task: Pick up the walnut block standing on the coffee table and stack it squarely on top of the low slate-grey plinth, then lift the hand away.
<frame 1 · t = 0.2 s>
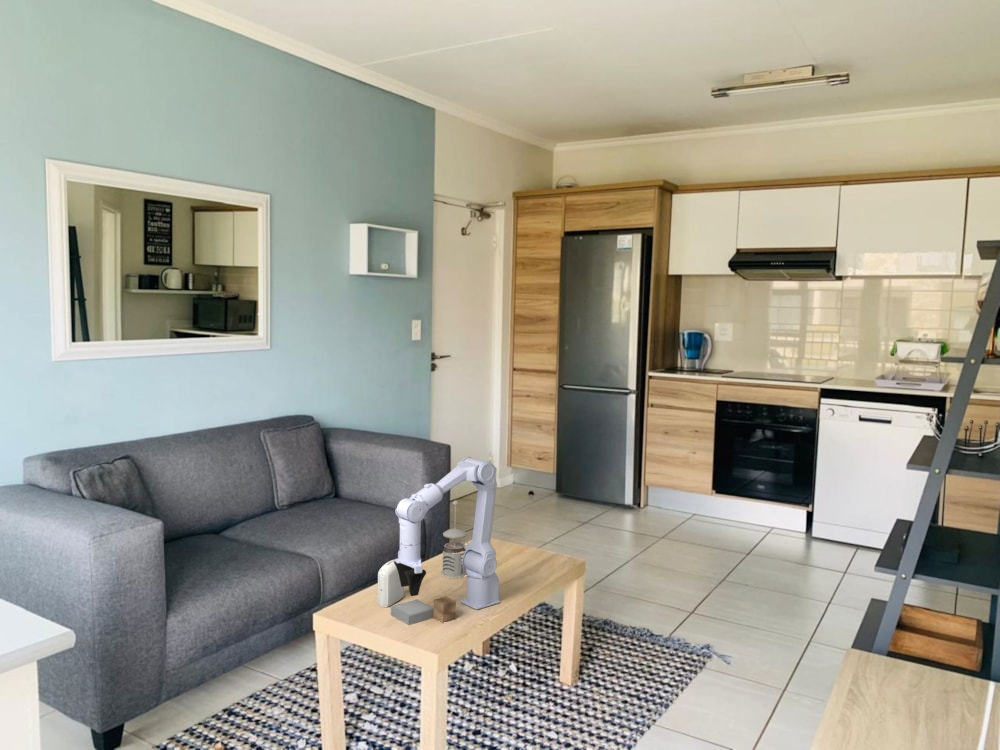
hand: (409, 590, 205), 10 cm above the table, tool pointing down, fingers open, 7 cm apart
photo printer: (391, 602, 223), on the table
plinth: (412, 616, 212), on the table
walnut block: (444, 618, 211), on the table
french press: (455, 575, 248), on the table
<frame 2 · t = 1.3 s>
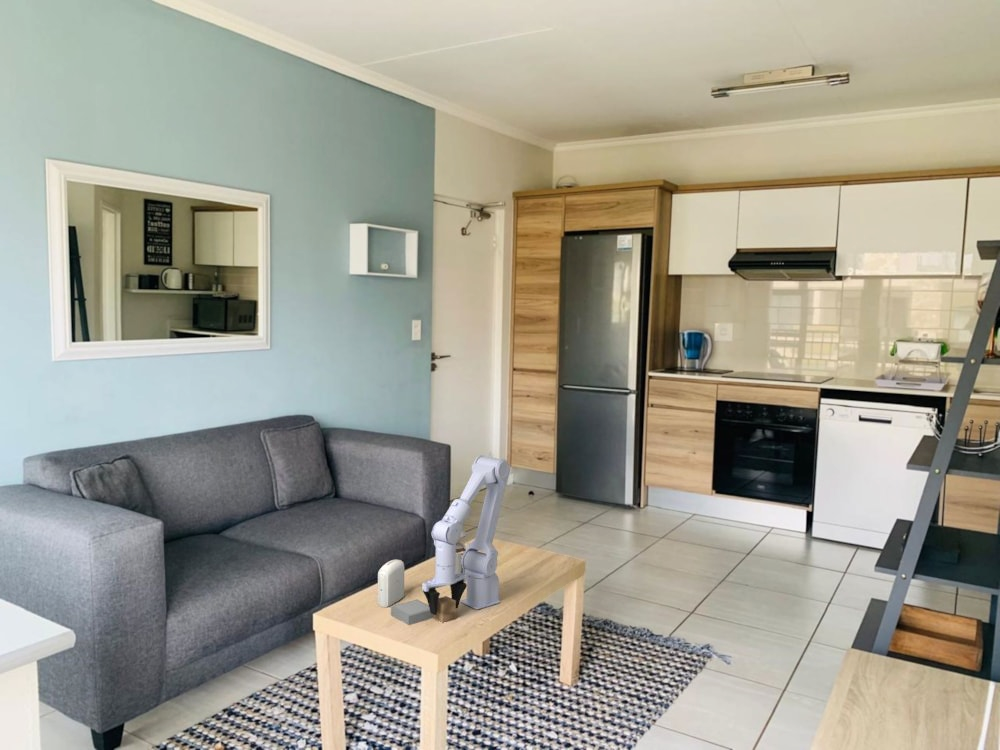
hand: (444, 610, 211), 2 cm above the table, tool pointing down, fingers open, 7 cm apart
nothing on the table moved.
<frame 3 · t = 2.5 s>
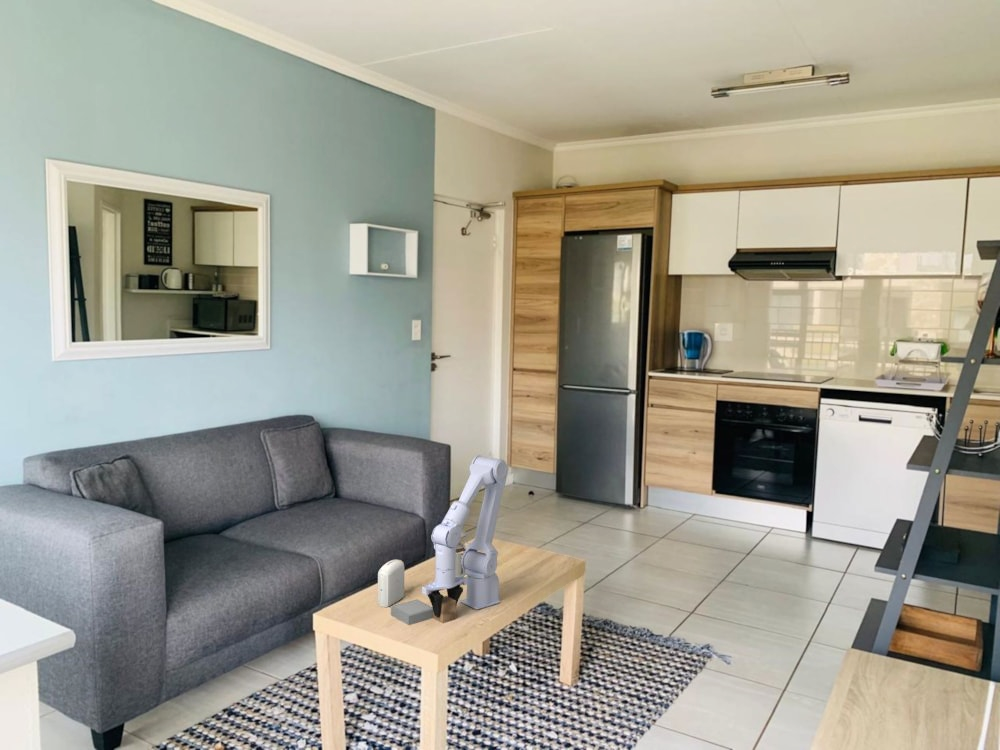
hand: (444, 613, 211), 1 cm above the table, tool pointing down, fingers closed on walnut block, 4 cm apart
walnut block: (444, 618, 211), on the table, touching gripper
everything else where it was.
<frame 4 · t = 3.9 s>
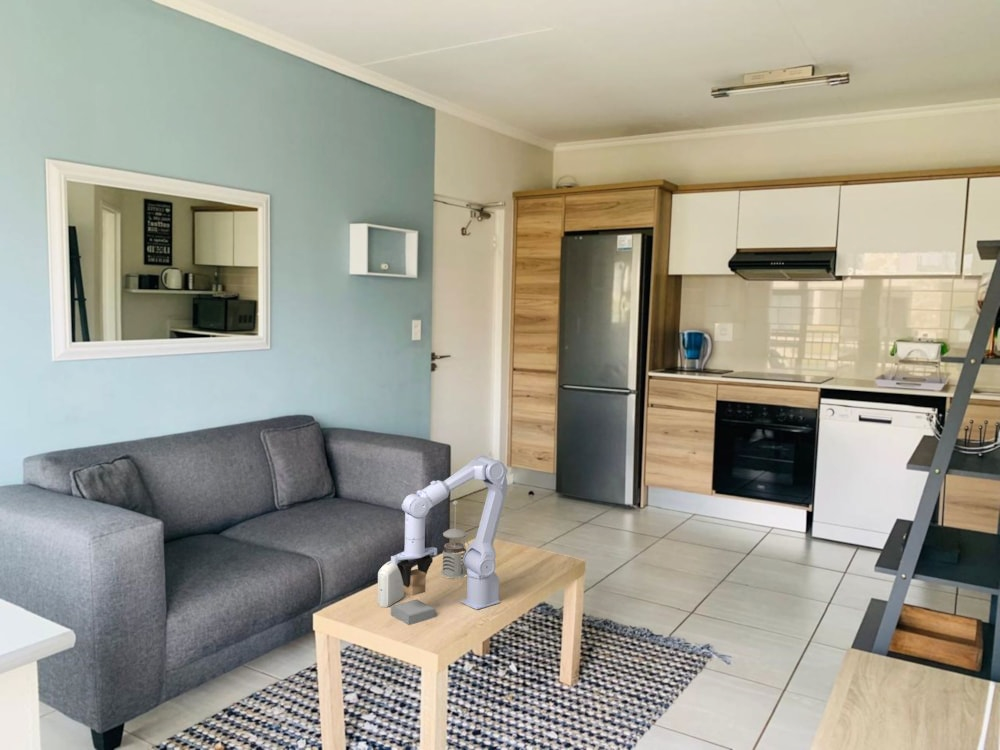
hand: (413, 583, 212), 9 cm above the table, tool pointing down, fingers closed on walnut block, 4 cm apart
walnut block: (414, 591, 212), point 7 cm above the table, touching gripper
everything else where it was.
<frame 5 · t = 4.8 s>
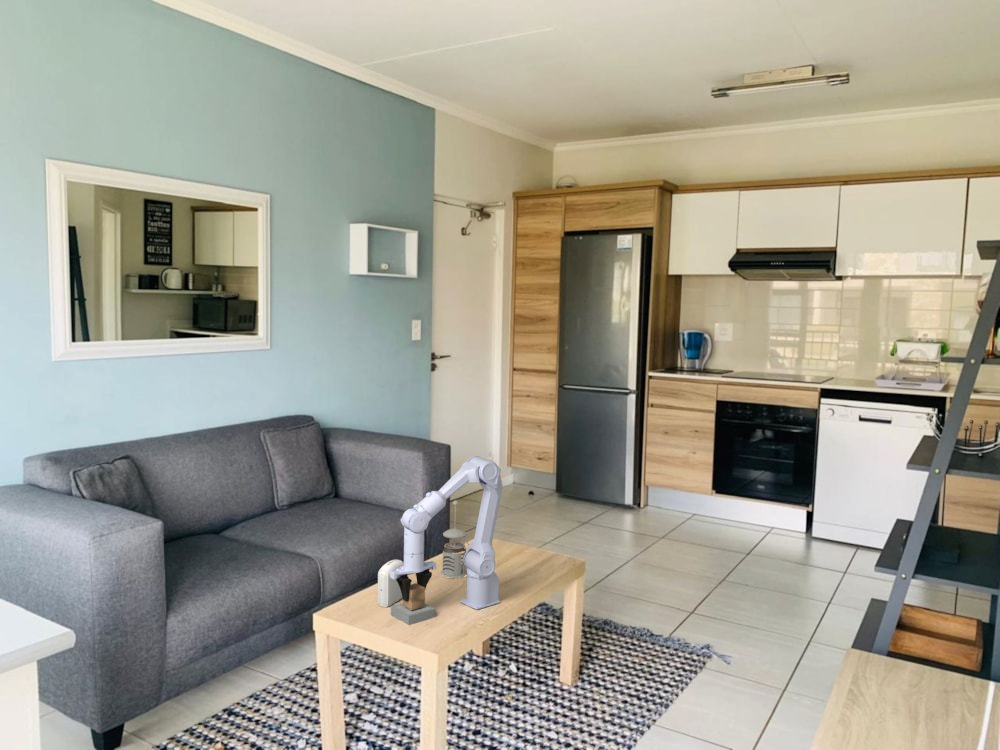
hand: (413, 598, 212), 5 cm above the table, tool pointing down, fingers closed on walnut block, 4 cm apart
walnut block: (413, 605, 212), point 3 cm above the table, touching gripper
everything else where it was.
when the fingers open (5 cm above the table, at t = 5.5 s): walnut block stays where it is, resting on plinth.
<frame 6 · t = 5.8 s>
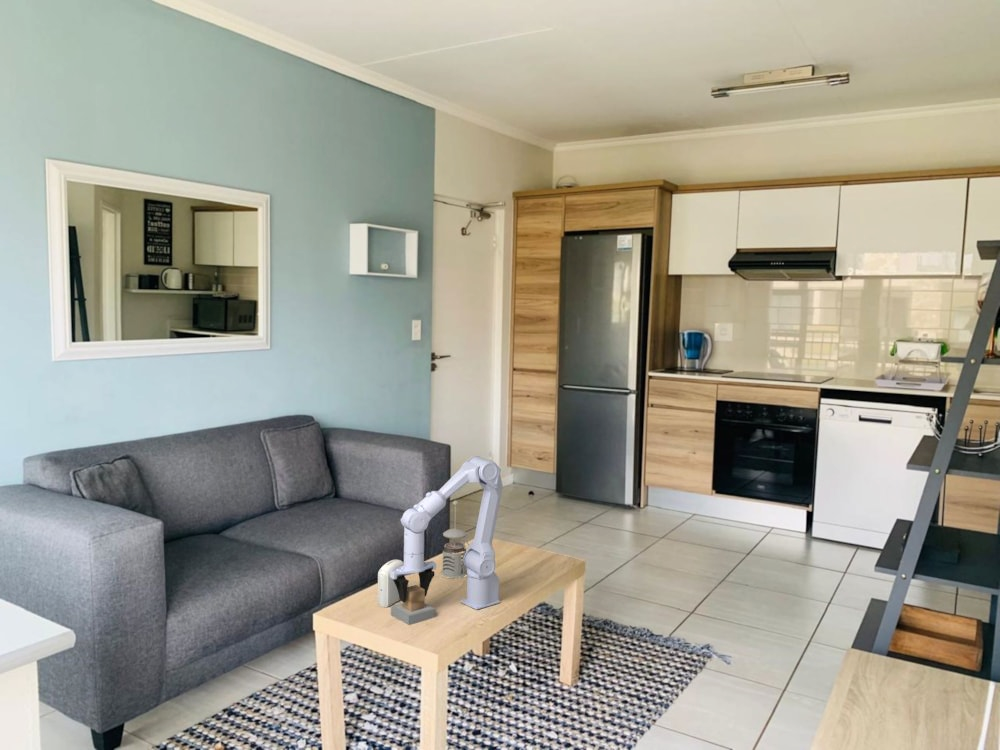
hand: (413, 598, 212), 5 cm above the table, tool pointing down, fingers open, 6 cm apart
walnut block: (413, 607, 212), point 3 cm above the table, touching plinth
everything else where it was.
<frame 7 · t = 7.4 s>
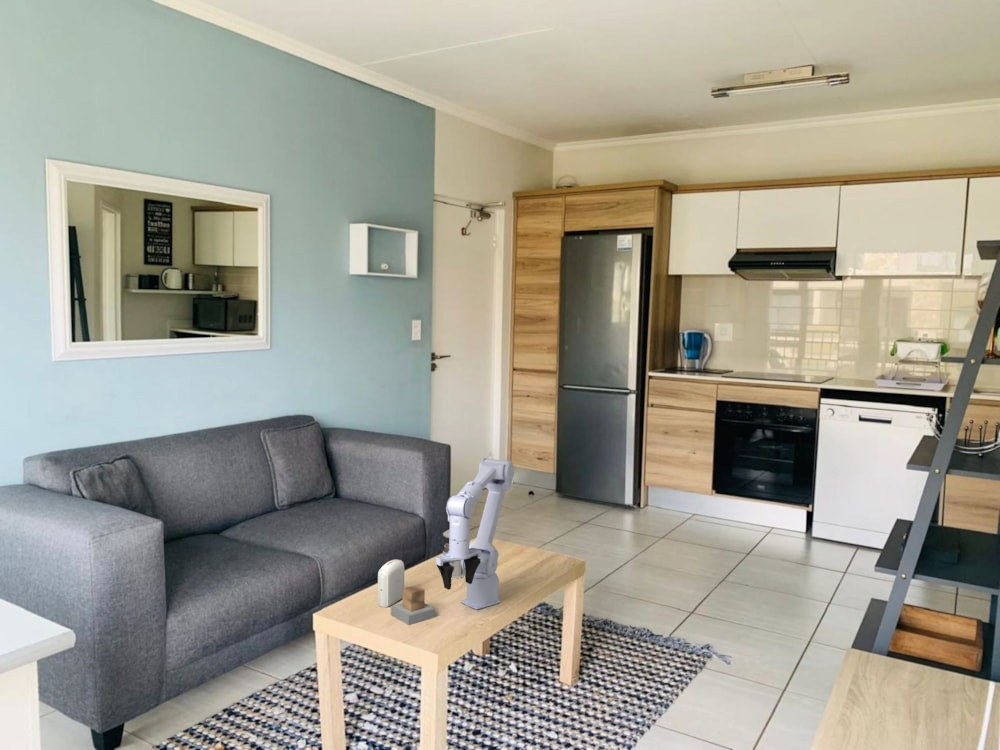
hand: (458, 585, 210), 10 cm above the table, tool pointing down, fingers open, 7 cm apart
nothing on the table moved.
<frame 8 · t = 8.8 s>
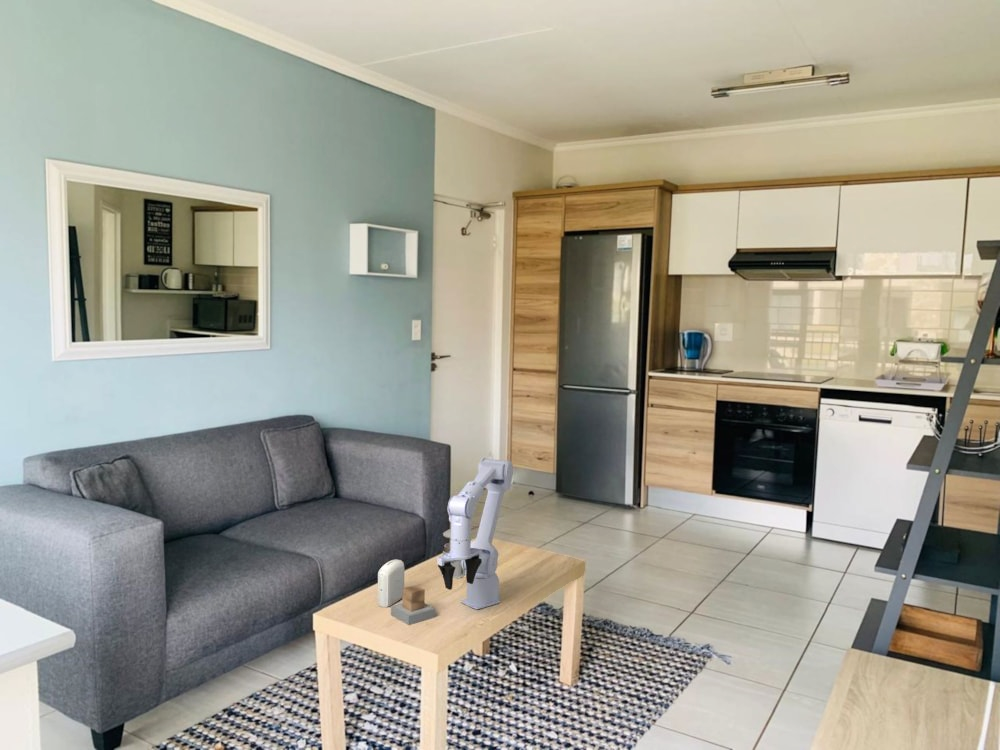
hand: (459, 585, 210), 10 cm above the table, tool pointing down, fingers open, 7 cm apart
nothing on the table moved.
at the end: walnut block inside the target area on the plinth (0.2 cm from its centre), point 2.5 cm above the plinth's base; walnut block tilted 0°; the gripper is holding nothing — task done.
